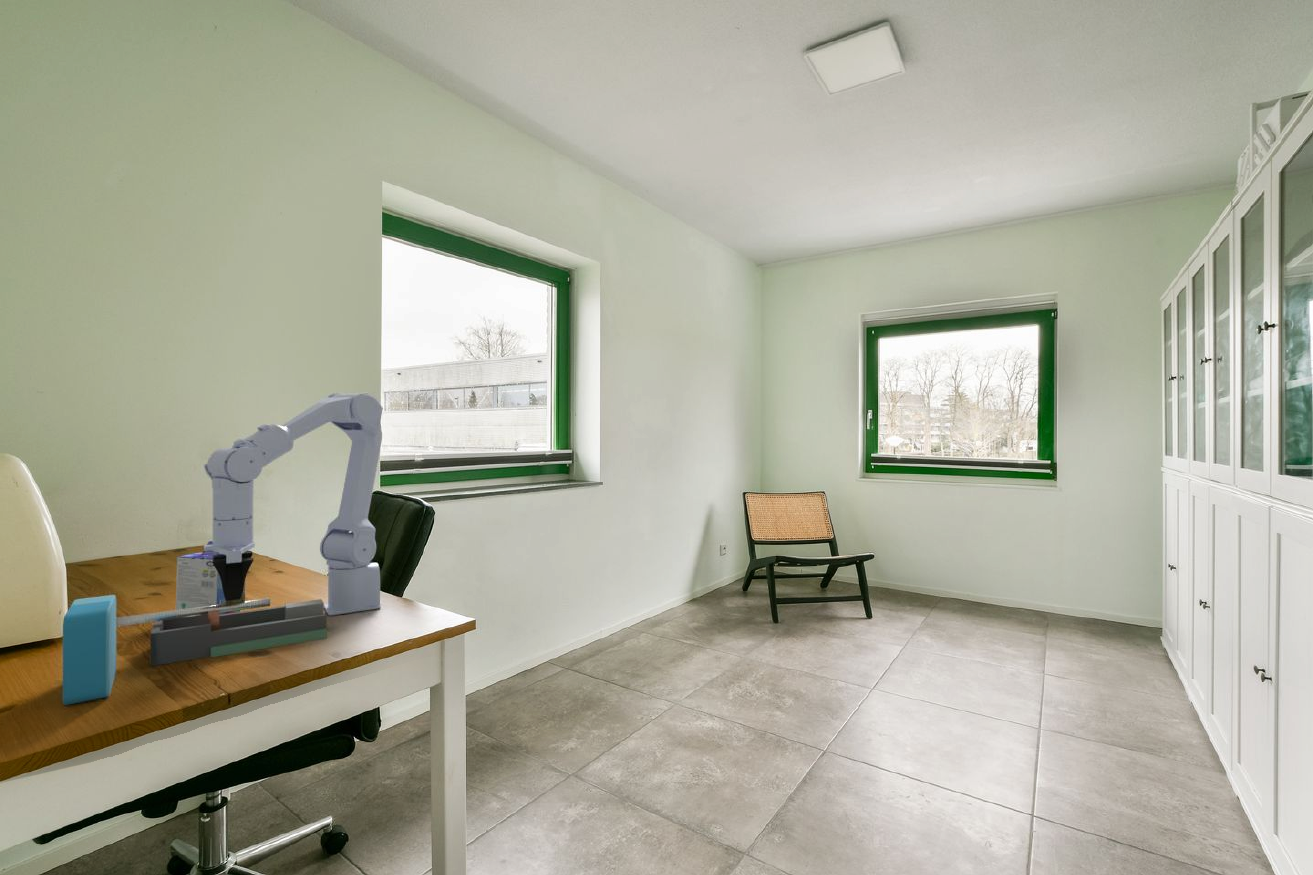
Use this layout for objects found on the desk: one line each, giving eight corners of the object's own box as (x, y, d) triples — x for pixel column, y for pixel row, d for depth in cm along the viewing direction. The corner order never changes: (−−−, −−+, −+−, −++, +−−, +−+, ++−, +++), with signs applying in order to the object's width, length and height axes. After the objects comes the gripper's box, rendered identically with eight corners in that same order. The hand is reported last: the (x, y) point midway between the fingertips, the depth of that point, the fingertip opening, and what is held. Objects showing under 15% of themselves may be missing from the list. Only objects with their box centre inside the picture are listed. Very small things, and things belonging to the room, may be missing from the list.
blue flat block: (75, 678, 89) (75, 597, 88) (116, 671, 91) (116, 592, 91) (62, 709, 79) (62, 617, 79) (108, 700, 82) (108, 611, 82)
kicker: (268, 622, 109) (269, 572, 109) (270, 630, 105) (271, 578, 105) (106, 646, 96) (107, 590, 96) (102, 656, 92) (102, 597, 92)
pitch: (317, 619, 117) (318, 593, 117) (327, 637, 107) (327, 609, 107) (156, 644, 103) (156, 614, 103) (150, 667, 93) (150, 634, 93)
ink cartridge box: (243, 615, 119) (243, 541, 119) (217, 624, 114) (217, 547, 113) (201, 611, 121) (201, 539, 121) (174, 620, 116) (174, 544, 115)
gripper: (204, 514, 107) (204, 591, 107) (203, 525, 95) (202, 611, 96) (252, 511, 111) (252, 585, 111) (256, 522, 100) (256, 604, 100)
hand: (233, 597), depth 104 cm, fingers closed on kicker, 3 cm apart
